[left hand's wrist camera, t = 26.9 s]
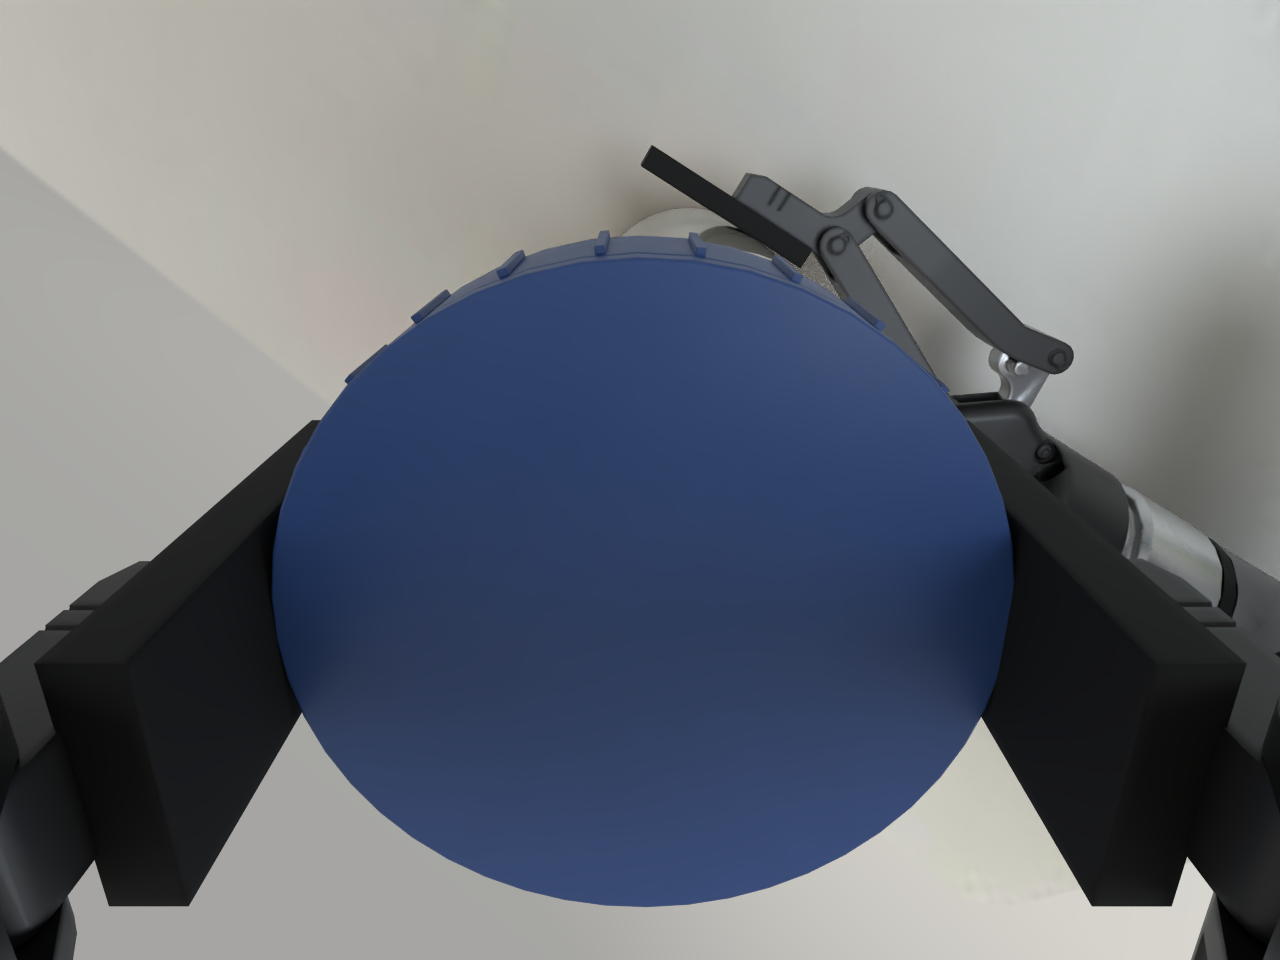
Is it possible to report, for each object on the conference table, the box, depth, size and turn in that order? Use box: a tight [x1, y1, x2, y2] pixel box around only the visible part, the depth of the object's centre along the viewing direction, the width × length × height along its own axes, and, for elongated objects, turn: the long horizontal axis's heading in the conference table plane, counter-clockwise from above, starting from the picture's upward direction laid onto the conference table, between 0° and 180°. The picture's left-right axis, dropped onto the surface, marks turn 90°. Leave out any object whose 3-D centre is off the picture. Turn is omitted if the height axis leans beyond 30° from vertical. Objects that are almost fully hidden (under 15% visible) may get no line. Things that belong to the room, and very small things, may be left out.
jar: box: [621, 208, 776, 260], centre depth 31 cm, size 8×8×17 cm
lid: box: [271, 231, 1014, 907], centre depth 11 cm, size 9×9×2 cm
